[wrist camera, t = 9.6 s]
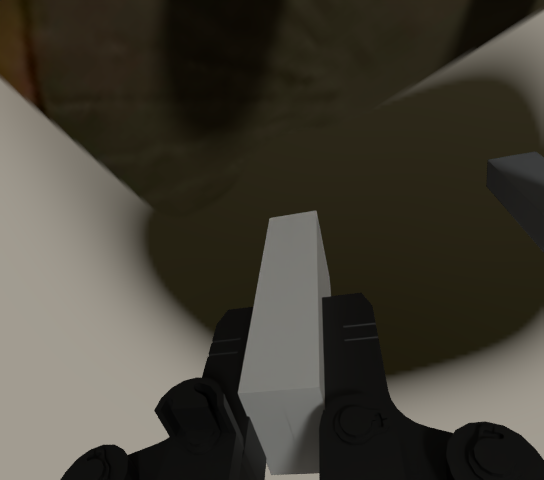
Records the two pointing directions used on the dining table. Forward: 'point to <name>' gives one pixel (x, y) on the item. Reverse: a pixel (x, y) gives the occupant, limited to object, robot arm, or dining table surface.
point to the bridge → (520, 190)
